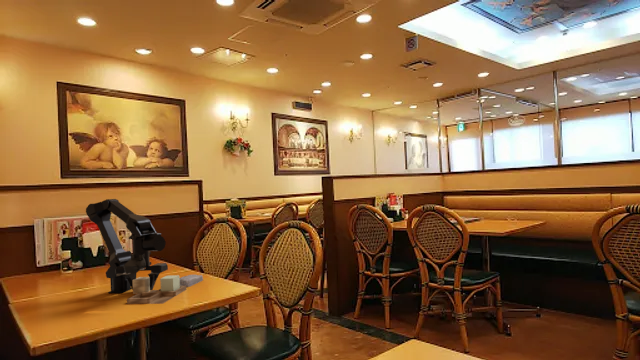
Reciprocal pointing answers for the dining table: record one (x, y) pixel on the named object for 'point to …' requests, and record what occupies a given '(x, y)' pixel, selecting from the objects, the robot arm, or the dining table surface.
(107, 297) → the dining table surface
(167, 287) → the sage block
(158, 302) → the walnut base board
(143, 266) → the robot arm
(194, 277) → the stone block
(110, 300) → the dining table surface
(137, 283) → the oak block
